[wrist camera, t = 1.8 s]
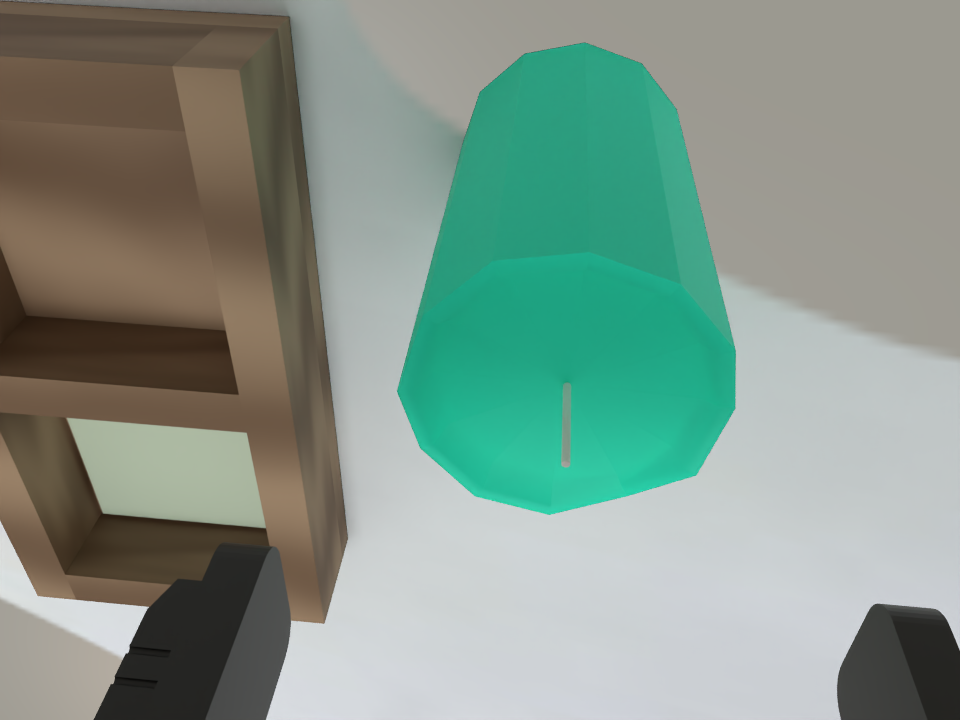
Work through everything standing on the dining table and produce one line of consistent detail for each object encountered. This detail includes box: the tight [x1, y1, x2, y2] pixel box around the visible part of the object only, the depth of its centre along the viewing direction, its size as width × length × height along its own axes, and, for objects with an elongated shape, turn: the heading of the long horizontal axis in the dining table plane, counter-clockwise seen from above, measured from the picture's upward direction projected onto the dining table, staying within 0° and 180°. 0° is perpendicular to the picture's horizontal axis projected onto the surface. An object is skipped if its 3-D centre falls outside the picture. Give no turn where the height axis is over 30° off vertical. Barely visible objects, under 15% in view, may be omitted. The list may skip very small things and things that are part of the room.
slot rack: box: [0, 1, 348, 624], centre depth 26 cm, size 20×11×4 cm, turn 179°
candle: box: [397, 43, 736, 515], centre depth 18 cm, size 6×6×12 cm
